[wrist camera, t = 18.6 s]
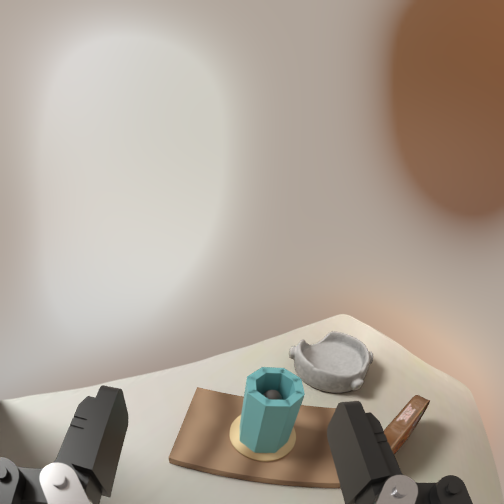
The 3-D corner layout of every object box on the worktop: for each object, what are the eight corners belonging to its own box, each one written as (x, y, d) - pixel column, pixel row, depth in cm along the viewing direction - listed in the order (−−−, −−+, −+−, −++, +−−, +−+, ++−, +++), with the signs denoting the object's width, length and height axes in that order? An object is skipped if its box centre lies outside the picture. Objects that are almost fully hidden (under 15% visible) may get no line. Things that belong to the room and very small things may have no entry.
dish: (277, 369, 52) (282, 348, 51) (319, 340, 62) (324, 320, 60) (344, 411, 43) (353, 390, 42) (378, 371, 53) (386, 351, 51)
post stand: (169, 462, 31) (161, 416, 27) (197, 393, 44) (197, 341, 41) (339, 487, 29) (370, 446, 26) (334, 414, 42) (355, 365, 39)
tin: (366, 484, 29) (392, 453, 26) (349, 472, 32) (373, 439, 29) (415, 427, 39) (439, 392, 36) (402, 418, 41) (423, 383, 38)
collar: (239, 452, 33) (247, 405, 29) (239, 416, 39) (246, 366, 35) (289, 452, 33) (307, 406, 30) (284, 417, 39) (298, 368, 36)
